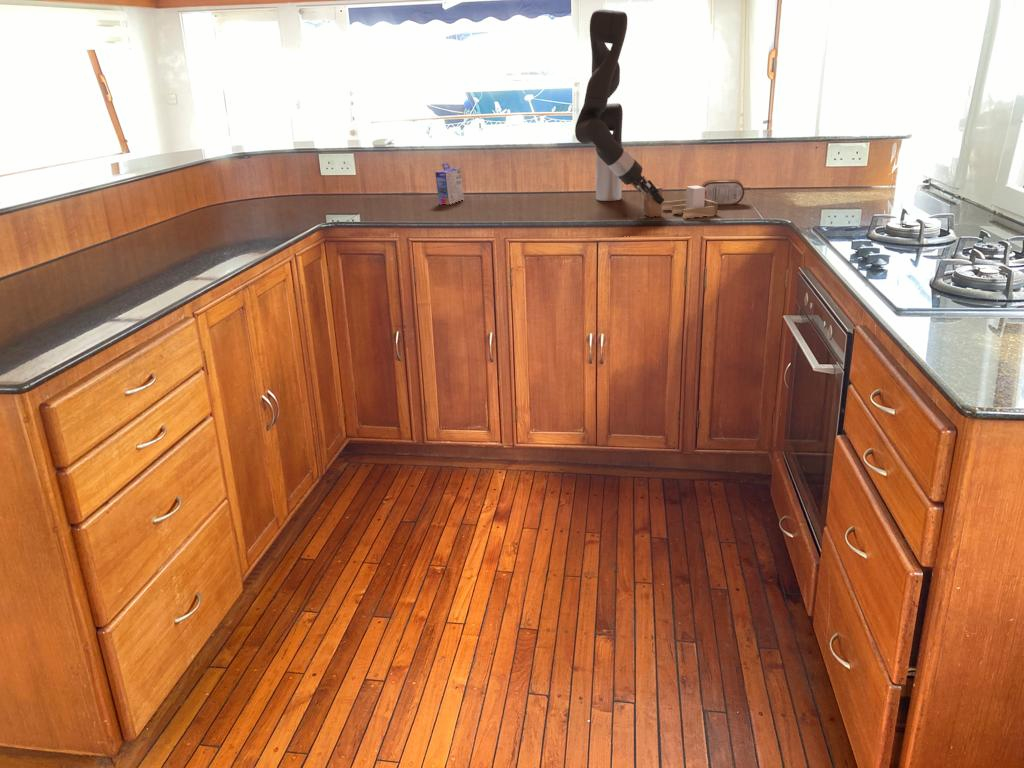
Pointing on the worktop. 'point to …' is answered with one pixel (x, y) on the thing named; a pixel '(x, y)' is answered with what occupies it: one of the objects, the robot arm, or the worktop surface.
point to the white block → (695, 197)
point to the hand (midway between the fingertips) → (658, 200)
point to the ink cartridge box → (449, 185)
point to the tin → (724, 191)
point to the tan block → (652, 205)
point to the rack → (680, 207)
